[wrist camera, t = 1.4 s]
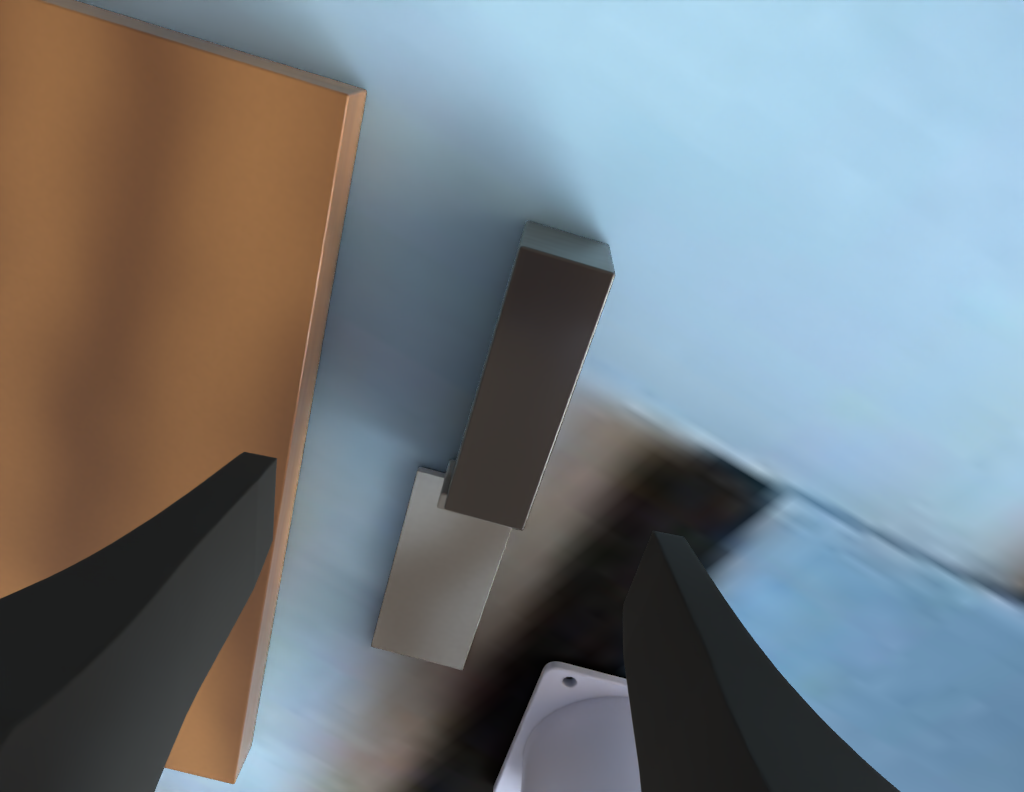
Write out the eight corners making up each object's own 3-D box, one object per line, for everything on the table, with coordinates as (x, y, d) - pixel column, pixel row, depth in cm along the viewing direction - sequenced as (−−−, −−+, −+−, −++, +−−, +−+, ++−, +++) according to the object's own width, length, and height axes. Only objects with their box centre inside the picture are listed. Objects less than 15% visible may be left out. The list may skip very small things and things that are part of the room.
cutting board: (368, 90, 19) (349, 94, 17) (252, 745, 30) (234, 785, 28) (-67, -44, 18) (-130, -52, 16) (-16, 679, 29) (-50, 716, 28)
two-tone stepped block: (610, 244, 20) (616, 273, 17) (463, 664, 27) (452, 727, 25) (487, 207, 20) (476, 231, 17) (372, 640, 27) (352, 702, 24)
